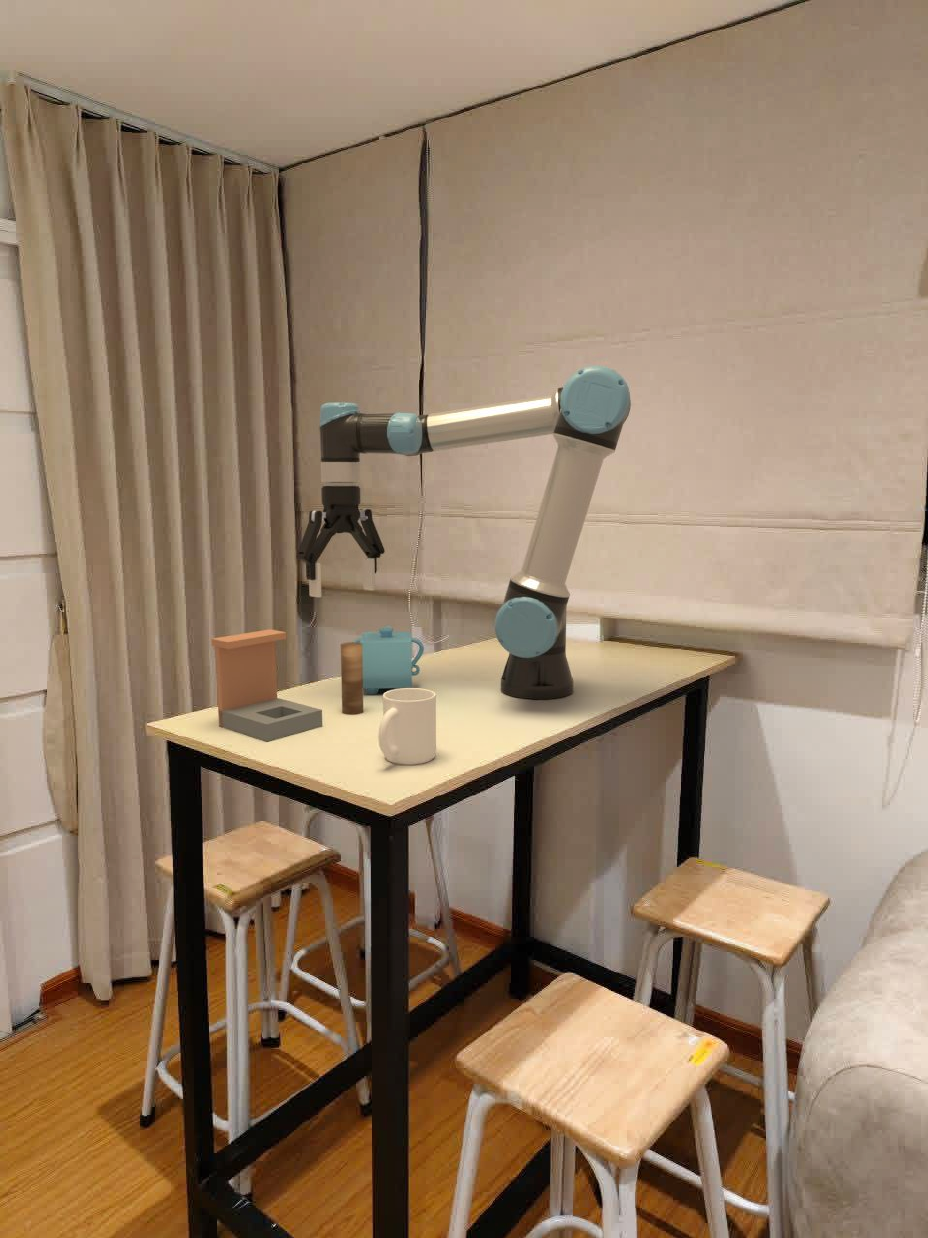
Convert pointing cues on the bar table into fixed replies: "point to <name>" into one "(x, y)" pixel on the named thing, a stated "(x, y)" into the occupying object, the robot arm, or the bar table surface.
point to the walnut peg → (352, 678)
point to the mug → (408, 726)
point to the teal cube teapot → (388, 659)
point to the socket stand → (256, 689)
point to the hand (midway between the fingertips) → (343, 593)
